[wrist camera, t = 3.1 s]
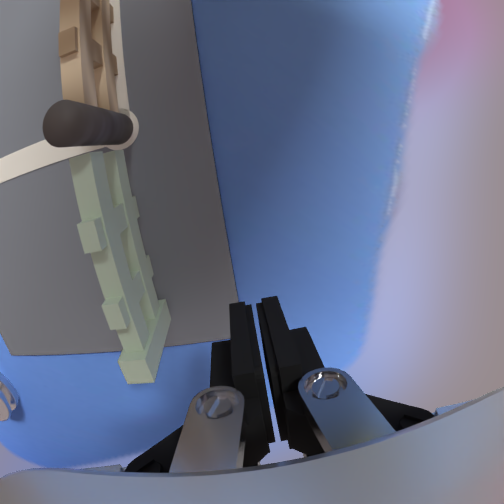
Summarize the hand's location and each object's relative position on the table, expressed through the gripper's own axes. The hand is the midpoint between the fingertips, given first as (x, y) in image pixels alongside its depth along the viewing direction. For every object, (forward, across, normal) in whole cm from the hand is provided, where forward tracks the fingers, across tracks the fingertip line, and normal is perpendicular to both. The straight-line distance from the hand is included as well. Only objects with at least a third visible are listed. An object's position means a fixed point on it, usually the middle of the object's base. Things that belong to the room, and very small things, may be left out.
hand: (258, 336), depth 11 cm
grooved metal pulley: (+9, +26, +9) cm, 29 cm away
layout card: (+8, +11, -9) cm, 16 cm away
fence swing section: (+8, +6, -2) cm, 10 cm away
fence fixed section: (+8, +6, -14) cm, 17 cm away
